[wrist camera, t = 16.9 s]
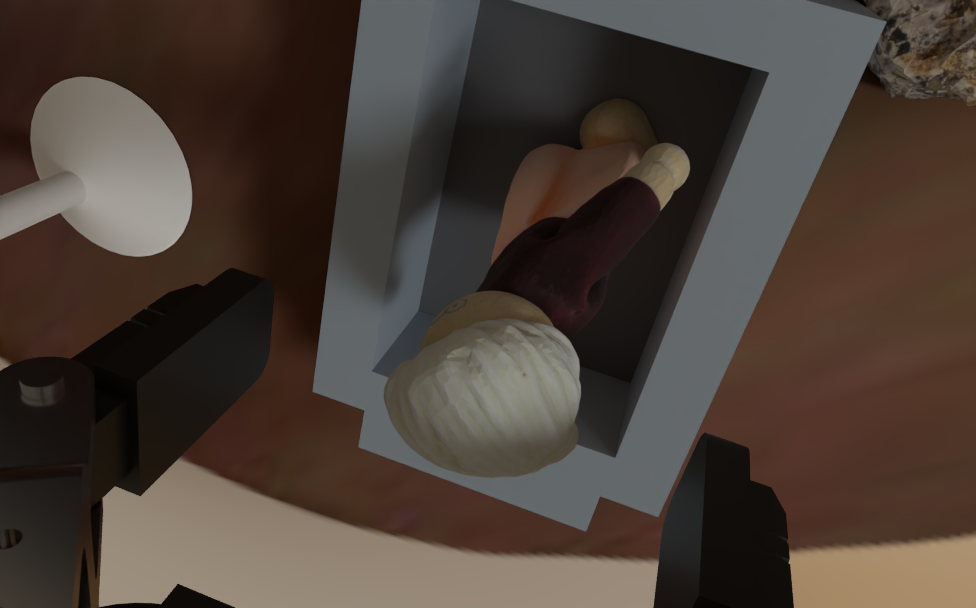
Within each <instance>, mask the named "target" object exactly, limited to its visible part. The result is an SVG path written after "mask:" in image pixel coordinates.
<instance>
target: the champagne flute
mask: <svg viewBox="0 0 976 608" xmlns="http://www.w3.org/2000/svg"><path fill="white" fill-rule="evenodd" d="M30 141H31V149H32V157H33V160H34V164H35V167H36V171H37V174H38V176H39V178H40V181H37V182H34V183H32V184H29V185H27V186H24V187H22V188H19V189H17V190H14V191H11V192H9V193H6V194H4V195H1V196H0V240H1V239H3V238H5V237H7V236H9V235H12V234H14V233H16V232H18V231H21V230H23V229H25V228H27V227H29V226H32V225H34V224H36V223H38V222H40V221H43V220H45V219H47V218H49V217H52V216H54V215H56V214H58V213H61V214H62V216H63V217H64V218H65V219H66V220H67V221H68V222H69V223H70V224H71V225H72V226H73V227H74V228H75V229H76V230H77V231H78V232H79V233H81V234H82V235H83V236H85V237H86V238H88V239H89V240H90V241H92V242H93V243H95V244H97V245H99V246H101V247H103V248H105V249H107V250H109V251H112V252H115V253H118V254H122V255H128V256H136V257H139V256H150V255H154V254H156V253H159V252H162V251H164V250H166V249H167V248H169V247H170V246H171V245H173V244H174V243H175V242H176V241H177V240H178V238H179V237H180V236H181V235H182V234H183V232H184V230H185V227H186V225H187V223H188V221H189V217H190V212H191V207H192V186H191V181H190V175H189V170H188V167H187V164H186V161H185V159H184V156H183V153H182V151H181V149H180V147H179V145H178V143H177V141H176V140H175V138H174V136H173V134H172V133H171V131H170V130H169V129H168V127H167V126H166V124H165V123H164V122H163V120H162V119H161V118H160V117H159V116H158V115H157V114H156V113H155V112H154V111H153V110H152V109H151V107H150V106H149V105H148V104H147V103H145V102H144V101H143V100H141V99H140V98H139V97H137V96H136V95H135V94H133V93H132V92H131V91H129V90H127V89H125V88H123V87H121V86H119V85H117V84H115V83H113V82H110V81H106V80H103V79H100V78H95V77H75V78H70V79H65V80H63V81H61V82H59V83H57V84H55V85H54V86H52V87H51V88H50V89H49V90H48V91H47V92H46V93H45V94H44V95H43V96H42V98H41V99H40V101H39V103H38V105H37V106H36V108H35V112H34V115H33V119H32V122H31V135H30Z"/></svg>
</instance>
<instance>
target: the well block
mask: <svg viewBox="0 0 976 608" xmlns="http://www.w3.org/2000/svg"><path fill="white" fill-rule="evenodd" d="M885 25H886V21H885V20H884V19H882V18H881V17H879V16H878V15H876V14H875V13H873V12H872V11H870V10H869V9H868V8H866V7H865V6H863V5H862V4H860V3H859V2H857V1H856V0H362V1H361V9H360V17H359V25H358V33H357V41H356V49H355V57H354V65H353V73H352V81H351V89H350V97H349V105H348V113H347V121H346V129H345V137H344V145H343V153H342V161H341V169H340V177H339V185H338V193H337V201H336V209H335V217H334V225H333V233H332V241H331V249H330V257H329V265H328V273H327V281H326V289H325V297H324V305H323V313H322V321H321V329H320V337H319V345H318V353H317V361H316V369H315V377H314V385H313V392H315V393H318V394H321V395H324V396H326V397H329V398H332V399H335V400H337V401H340V402H343V403H346V404H348V405H351V406H354V407H357V408H359V409H362V410H365V412H364V418H363V424H362V429H361V435H360V441H359V448H362V449H365V450H368V451H370V452H373V453H376V454H378V455H381V456H384V457H386V458H389V459H392V460H395V461H397V462H400V463H403V464H405V465H408V466H411V467H413V468H416V469H419V470H421V471H424V472H427V473H430V474H432V475H435V476H438V477H440V478H443V479H446V480H448V481H451V482H454V483H457V484H459V485H462V486H465V487H467V488H470V489H473V490H475V491H478V492H481V493H483V494H486V495H489V496H492V497H494V498H497V499H500V500H502V501H505V502H508V503H510V504H513V505H516V506H519V507H521V508H524V509H527V510H529V511H532V512H535V513H537V514H540V515H543V516H545V517H548V518H551V519H554V520H556V521H559V522H562V523H564V524H567V525H570V526H572V527H575V528H578V529H580V530H583V531H586V530H587V528H588V525H589V523H590V520H591V518H592V515H593V513H594V510H595V508H596V505H597V503H598V500H599V498H600V496H601V497H604V498H607V499H610V500H612V501H615V502H618V503H621V504H623V505H626V506H629V507H632V508H634V509H637V510H640V511H643V512H645V513H648V514H651V515H654V516H656V517H658V516H659V514H660V512H661V510H662V508H663V505H664V503H665V501H666V499H667V497H668V495H669V492H670V490H671V488H672V486H673V484H674V482H675V479H676V477H677V475H678V473H679V471H680V469H681V466H682V464H683V462H684V460H685V458H686V456H687V453H688V451H689V449H690V447H691V445H692V443H693V440H694V438H695V436H696V434H697V432H698V430H699V427H700V425H701V423H702V421H703V419H704V417H705V414H706V412H707V410H708V408H709V406H710V404H711V401H712V399H713V397H714V395H715V393H716V391H717V388H718V386H719V384H720V382H721V380H722V378H723V375H724V373H725V371H726V369H727V367H728V365H729V362H730V360H731V358H732V356H733V354H734V352H735V349H736V347H737V345H738V343H739V341H740V339H741V336H742V334H743V332H744V330H745V328H746V326H747V323H748V321H749V319H750V317H751V315H752V313H753V310H754V308H755V306H756V304H757V302H758V300H759V297H760V295H761V293H762V291H763V289H764V287H765V284H766V282H767V280H768V278H769V276H770V274H771V271H772V269H773V267H774V265H775V263H776V261H777V258H778V256H779V254H780V252H781V250H782V248H783V245H784V243H785V241H786V239H787V237H788V235H789V232H790V230H791V228H792V226H793V224H794V222H795V219H796V217H797V215H798V213H799V211H800V209H801V206H802V204H803V202H804V200H805V198H806V196H807V193H808V191H809V189H810V187H811V185H812V183H813V180H814V178H815V176H816V174H817V172H818V170H819V167H820V165H821V163H822V161H823V159H824V157H825V155H826V152H827V150H828V148H829V146H830V144H831V142H832V139H833V137H834V135H835V133H836V131H837V129H838V126H839V124H840V122H841V120H842V118H843V116H844V113H845V111H846V109H847V107H848V105H849V103H850V100H851V98H852V96H853V94H854V92H855V90H856V87H857V85H858V83H859V81H860V79H861V77H862V74H863V72H864V70H865V68H866V66H867V64H868V61H869V59H870V57H871V55H872V53H873V51H874V48H875V46H876V44H877V42H878V40H879V38H880V35H881V33H882V31H883V29H884V27H885ZM617 98H621V99H625V100H630V101H632V102H633V103H635V104H636V105H638V106H639V107H640V108H641V109H642V110H643V112H644V113H645V115H646V117H647V119H648V121H649V123H650V125H651V127H652V130H653V132H654V134H655V137H656V139H657V141H658V144H661V143H670V144H673V145H677V146H679V147H680V148H681V149H682V150H684V152H685V154H686V155H687V157H688V159H689V164H690V171H689V175H688V177H687V179H686V181H685V182H684V183H683V184H682V185H681V186H680V187H679V188H678V189H677V190H675V191H673V194H672V196H671V198H670V200H669V201H668V202H667V204H666V205H665V206H664V208H663V209H662V210H661V211H660V215H659V217H658V219H657V220H656V221H655V223H654V224H653V225H652V226H651V227H650V229H649V230H648V231H647V232H646V233H645V234H644V235H643V236H642V237H641V238H640V239H639V240H638V242H637V243H636V244H635V245H634V246H633V248H632V249H631V250H630V251H629V252H628V254H627V255H626V257H625V258H624V259H623V260H622V261H620V262H619V264H618V265H617V266H616V267H615V268H613V269H612V270H611V271H610V275H609V278H608V281H607V290H606V295H605V299H604V301H603V303H602V306H601V308H600V309H599V311H598V313H597V314H596V315H595V316H594V317H593V319H592V320H591V321H590V322H589V323H588V324H587V325H586V326H585V327H583V328H582V329H581V330H580V331H579V332H577V333H576V334H575V335H574V336H572V337H571V338H570V339H569V341H570V342H571V344H572V346H573V348H574V350H575V352H576V354H577V356H578V359H579V365H580V373H579V381H580V385H581V398H580V402H579V409H578V412H577V415H576V418H575V421H574V422H575V424H576V426H577V428H578V434H579V435H578V441H577V444H576V446H575V449H574V450H573V451H572V452H571V453H569V454H568V455H567V456H566V457H565V458H564V459H562V460H561V461H559V462H556V463H553V464H550V465H547V466H545V467H544V468H542V469H540V470H539V471H537V472H536V473H531V474H526V475H522V476H518V477H496V478H485V477H473V476H468V475H462V474H459V473H456V472H453V471H449V470H445V469H442V468H440V467H438V466H436V465H434V464H432V463H430V462H429V461H427V460H426V459H424V458H423V457H421V456H420V455H419V454H417V453H416V452H415V451H414V450H412V449H411V448H410V447H409V446H408V445H407V444H406V443H405V442H404V440H403V439H402V438H401V436H400V435H399V433H398V432H397V431H396V429H395V427H394V426H393V424H392V422H391V420H390V417H389V414H388V411H387V408H386V406H385V403H384V397H383V396H384V387H385V385H386V383H387V380H388V378H389V377H390V375H391V374H392V373H393V371H394V370H395V369H396V367H397V366H398V365H399V364H401V363H402V362H404V361H407V360H413V359H414V358H415V357H416V356H417V355H418V354H419V353H420V348H421V345H422V341H423V338H424V336H425V333H426V331H427V329H428V328H429V326H430V324H431V323H432V321H433V320H434V319H435V318H436V317H437V316H438V314H439V313H440V312H441V311H442V310H443V309H445V308H446V307H447V306H448V305H450V304H451V303H453V302H454V301H456V300H458V299H460V298H462V297H464V296H467V295H470V294H473V293H475V292H476V291H477V290H478V288H479V287H480V285H481V284H482V283H483V281H484V279H485V277H486V275H487V272H488V270H489V269H490V267H491V261H492V254H493V250H494V246H495V242H496V238H497V235H498V232H499V229H500V226H501V222H502V217H503V211H504V205H505V202H506V198H507V195H508V193H509V190H510V186H511V183H512V181H513V178H514V176H515V174H516V172H517V170H518V168H519V166H520V164H521V162H522V161H523V159H524V158H525V157H526V156H527V155H528V154H529V153H530V152H531V151H533V150H534V149H536V148H538V147H541V146H543V145H546V144H559V145H565V146H568V147H571V148H574V149H576V150H581V149H583V148H582V145H581V143H580V128H581V124H582V122H583V120H584V118H585V116H586V115H587V114H588V113H589V112H590V111H591V110H592V109H593V108H595V107H596V106H598V105H599V104H601V103H602V102H605V101H607V100H611V99H617Z"/></svg>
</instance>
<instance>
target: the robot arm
mask: <svg viewBox="0 0 976 608" xmlns="http://www.w3.org/2000/svg"><path fill="white" fill-rule="evenodd" d="M273 301H274V287H273V284H272V282H271V281H269V280H266V279H263V278H261V277H258V276H255V275H252V274H249V273H246V272H243V271H240V270H237V269H235V268H230V269H228V270H226V271H225V272H223V273H222V274H220V275H219V276H218V277H216V278H215V279H213V280H212V281H211V282H209V283H208V284H206V285H205V286H201V285H199V284H194V285H191V286H188V287H185V288H181V289H178V290H175V291H172V292H168V293H167V294H166V295H164V296H163V297H161V298H160V299H158V300H157V301H155V302H154V303H152V304H151V305H149V306H148V309H147V310H145V309H143V310H142V311H141V312H139V313H138V314H136V315H135V316H133V317H132V318H131V321H126V322H124V323H123V324H121V325H120V326H118V327H117V328H116V329H114V330H113V331H111V332H110V333H108V334H107V335H105V336H104V337H102V338H101V339H99V340H98V341H96V342H95V343H94V344H92V345H91V346H89V347H88V348H86V349H85V350H83V351H82V352H80V353H79V354H77V355H76V356H74V357H73V358H71V359H68V358H63V357H37V358H32V359H27V360H23V361H20V362H17V363H14V364H12V365H10V366H8V367H6V368H4V369H3V370H1V371H0V608H235V607H232V606H230V605H227V604H225V603H223V602H220V601H218V600H215V599H213V598H211V597H208V596H206V595H203V594H201V593H199V592H196V591H194V590H191V589H189V588H187V587H184V586H182V585H179V584H177V586H176V587H175V588H174V589H173V591H172V592H171V593H170V594H169V595H168V597H167V598H166V599H165V600H164V601H163V603H162V604H154V603H128V604H115V605H109V606H104V607H99V584H100V563H101V543H102V522H103V500H102V498H103V497H104V496H105V495H106V494H107V493H108V492H109V491H110V490H111V489H112V488H113V487H114V486H116V487H119V488H122V489H124V490H126V491H129V492H131V493H134V494H136V495H139V496H141V495H142V494H143V493H144V492H145V491H146V490H147V489H148V488H149V487H150V486H151V485H152V484H153V483H154V482H155V481H156V480H157V479H158V478H159V477H160V476H161V475H162V474H163V473H164V472H165V471H166V470H167V469H168V468H169V467H170V466H171V465H172V464H173V463H174V462H175V461H176V460H177V459H178V458H179V457H180V456H181V455H182V454H183V453H184V452H185V451H187V450H188V449H189V448H190V447H191V446H192V445H193V444H194V443H195V442H196V441H197V440H198V439H199V438H200V437H201V436H202V435H203V434H204V433H205V432H206V431H207V430H208V429H209V428H210V427H211V426H212V425H213V424H214V423H215V422H216V421H217V420H218V419H219V418H220V417H221V416H222V415H223V414H224V413H225V412H226V411H227V410H228V409H229V408H230V407H231V406H232V405H233V404H234V403H235V402H236V401H237V400H238V399H239V398H240V397H241V396H242V395H243V394H244V393H245V392H246V391H247V390H248V389H249V388H250V387H251V386H252V385H253V384H254V383H255V382H256V381H257V380H258V378H259V377H260V375H261V374H262V372H263V370H264V368H265V365H266V363H267V360H268V356H269V351H270V340H271V327H272V314H273ZM787 540H788V533H787V521H786V513H785V511H784V509H783V508H782V506H781V504H780V502H779V500H778V499H777V497H776V495H775V493H774V491H773V490H772V488H771V487H768V486H766V485H763V484H760V483H757V482H754V481H751V480H750V454H749V449H748V447H745V446H742V445H739V444H736V443H734V442H731V441H728V440H725V439H722V438H719V437H716V436H713V435H710V434H708V433H704V434H703V435H702V436H701V438H700V439H699V441H698V443H697V445H696V448H695V450H694V452H693V454H692V456H691V458H690V461H689V463H688V465H687V467H686V469H685V471H684V474H683V476H682V478H681V480H680V482H679V484H678V487H677V489H676V491H675V493H674V495H673V497H672V500H671V502H670V505H669V508H668V511H667V514H666V518H665V522H664V526H663V531H662V539H661V548H660V556H659V565H658V573H657V582H656V592H655V599H654V608H794V604H793V593H792V581H791V570H790V564H788V562H789V559H790V557H789V545H788V543H787Z"/></svg>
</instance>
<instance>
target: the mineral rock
mask: <svg viewBox="0 0 976 608" xmlns="http://www.w3.org/2000/svg"><path fill="white" fill-rule="evenodd" d="M863 1H864V3H865V4H866V6H865V7H866V8H868V9H869V10H870V11H872V12H873V13H875V14H876V15H878V16H879V17H881V18H882V19H884V20H885V21H886V25H885V27H884V29H883V31H882V33H881V35H880V38H879V40H878V42H877V44H876V46H875V48H874V51H873V53H872V55H871V57H870V59H869V61H868V64H867V65H868V66H869V68H870V70H871V71H872V72H873V73H874V74H876V75H877V76H878V77H879V78H880V83H881V85H882V86H883V87H884V88H885V90H886V91H887V92H888V94H889V95H890V96H891V98H894V97H897V96H902V97H907V98H911V99H923V100H927V99H929V98H931V97H945V98H950V99H957V100H962V101H963V102H964V103H965V104H966V105H967V106H972V105H976V0H863Z"/></svg>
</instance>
